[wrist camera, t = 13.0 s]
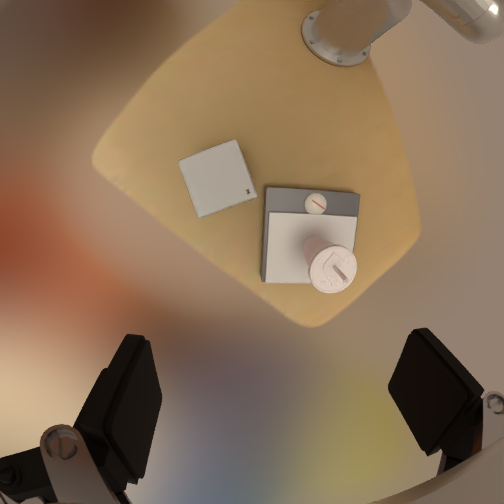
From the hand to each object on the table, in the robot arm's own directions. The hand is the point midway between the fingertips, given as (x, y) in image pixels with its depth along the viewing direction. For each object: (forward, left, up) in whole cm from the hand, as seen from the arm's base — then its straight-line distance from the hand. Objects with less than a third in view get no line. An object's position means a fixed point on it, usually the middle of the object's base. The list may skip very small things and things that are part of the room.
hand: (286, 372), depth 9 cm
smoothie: (+5, +10, -33) cm, 35 cm away
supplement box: (-5, -4, -36) cm, 37 cm away
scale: (+4, +10, -36) cm, 38 cm away
